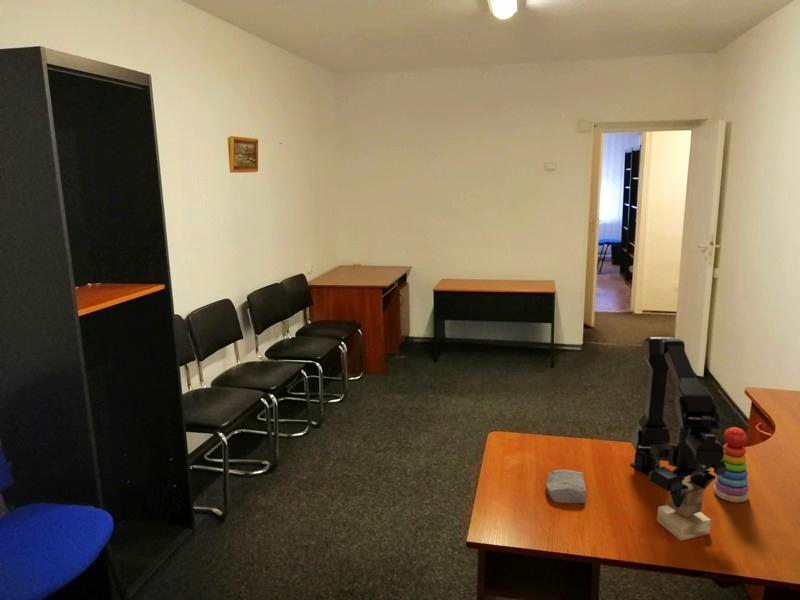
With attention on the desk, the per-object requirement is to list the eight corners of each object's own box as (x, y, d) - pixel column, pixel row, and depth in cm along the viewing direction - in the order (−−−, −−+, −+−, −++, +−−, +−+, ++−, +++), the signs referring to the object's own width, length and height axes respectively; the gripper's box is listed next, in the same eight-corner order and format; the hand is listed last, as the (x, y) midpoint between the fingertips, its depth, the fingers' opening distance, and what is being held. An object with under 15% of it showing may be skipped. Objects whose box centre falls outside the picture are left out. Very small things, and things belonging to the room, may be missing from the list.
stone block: (550, 508, 152) (589, 504, 149) (546, 491, 151) (586, 487, 149) (547, 485, 163) (584, 481, 161) (544, 469, 162) (581, 465, 160)
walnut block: (683, 500, 142) (685, 478, 140) (701, 511, 137) (703, 488, 136) (668, 505, 140) (670, 483, 138) (685, 517, 135) (688, 493, 134)
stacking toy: (746, 490, 154) (754, 424, 149) (749, 506, 147) (758, 438, 142) (712, 484, 157) (719, 419, 152) (714, 500, 150) (721, 433, 145)
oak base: (684, 515, 144) (685, 501, 143) (709, 534, 137) (710, 519, 136) (656, 521, 142) (658, 507, 141) (680, 541, 135) (681, 526, 134)
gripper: (689, 421, 145) (684, 478, 149) (633, 437, 138) (629, 496, 142) (730, 440, 135) (723, 500, 139) (672, 458, 128) (666, 521, 132)
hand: (684, 503), depth 138 cm, fingers closed on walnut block, 5 cm apart
